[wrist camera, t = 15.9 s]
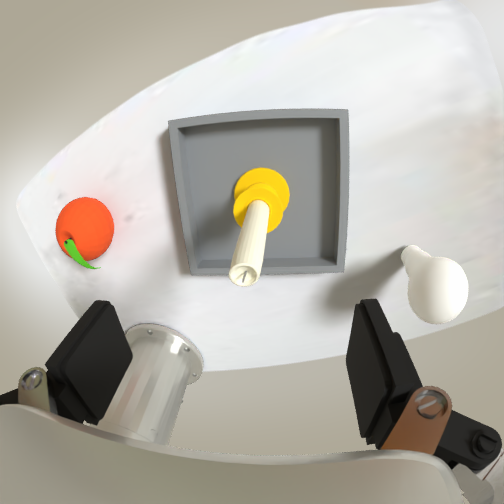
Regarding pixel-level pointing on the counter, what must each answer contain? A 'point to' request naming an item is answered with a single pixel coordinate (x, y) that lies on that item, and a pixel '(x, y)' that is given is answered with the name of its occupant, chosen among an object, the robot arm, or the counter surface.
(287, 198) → the candle
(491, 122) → the counter surface
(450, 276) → the lightbulb
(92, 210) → the clementine
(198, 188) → the tray
